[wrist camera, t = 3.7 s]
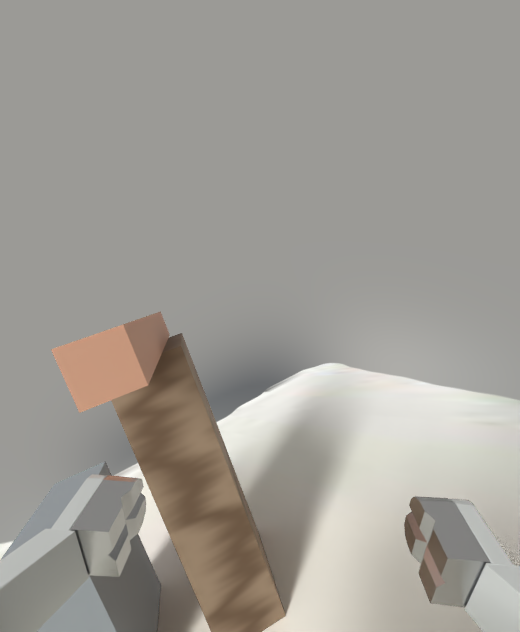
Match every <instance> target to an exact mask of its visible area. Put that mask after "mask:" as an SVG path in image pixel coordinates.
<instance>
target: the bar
mask: <svg viewBox="0 0 520 632" xmlns="http://www.w3.org/2000/svg"><path fill="white" fill-rule="evenodd" d="M168 338H169V332H168V330H167V327H166V324H165V322H164V320H163V317H162V314H161V312H158V313H155V314H152V315H149V316H146V317H143V318H141V319H138V320H135V321H132V322H129V323H126V324H123V325H120V326H118V327H115V328H112V329H109V330H106V331H103V332H100V333H97V334H94V335H92V336H89V337H86V338H83V339H80V340H77V341H74V342H71V343H69V344H65V345H63V346H60V347H57V348H54V349H52V353H53V355H54V357H55V359H56V361H57V364H58V366H59V368H60V370H61V373H62V375H63V377H64V379H65V381H66V384H67V386H68V388H69V390H70V393H71V395H72V397H73V399H74V401H75V404H76V406H77V408H78V410H79V412H83V411H85V410H88V409H90V408H93V407H95V406H98V405H100V404H103V403H105V402H108V401H110V400H113V399H115V398H118V397H120V396H123V395H125V394H128V393H130V392H133V391H135V390H138V389H140V388H143V387H145V386H148V384H149V382H150V380H151V377H152V375H153V373H154V370H155V368H156V366H157V363H158V361H159V359H160V356H161V354H162V352H163V349H164V347H165V345H166V342H167V340H168Z"/></svg>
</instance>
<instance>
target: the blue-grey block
mask: <svg viewBox="0 0 520 632" xmlns="http://www.w3.org/2000/svg"><path fill="white" fill-rule="evenodd" d="M92 474H97V475H109V476H112V475H111V473H110V471H109V468H108V466H107V464H106V462H103V463H101V464H98V465H96V466H94V467H92V468H89V469H87V470H85V471H83V472H80V473H78V474H76V475H74V476H71V477H69V478H67V479H65V480H62V481H60V482H58V483H56V484H54V486H53V487H52V488H51V490H50V491H49V493H48V494H47V496H46V497H45V498H44V500H43V501H42V502H41V504H40V505H39V507H38V508H37V510H36V511H35V512H34V514H33V515H32V517H31V518H30V519H29V521H28V522H27V524H26V525H25V526H24V528H23V529H22V531H21V532H20V533H19V535H18V536H17V538H16V539H15V540H14V542H13V543H12V545H11V546H10V547H9V549H8V550H7V552H6V553H5V554H4V556H3V557H2V559H3V558H4V557H6V556H7V555H9V554H10V553H11V552H13V551H14V550H16V549H17V548H18V547H20V546H21V545H23V544H24V543H26V542H27V541H28V540H30V539H31V538H33V537H34V536H36V535H37V534H38V533H40V532H41V531H43V530H44V529H51V528H52V526H53V525H54V523H55V522H56V521H57V519H58V518H59V516H60V515H61V514H62V512H63V511H64V509H65V508H66V507H67V505H68V504H69V502H70V501H71V500H72V498H73V497H74V495H75V494H76V493H77V491H78V490H79V489H80V487H81V486H82V484H83V483H84V482H85V480H86V479H87V478H88V477H89V476H91V475H92ZM130 545H131V551H130V554H129V556H128V558H127V561H126V563H125V565H124V568H123V570H122V572H121V574H120V577H112V576H93V575H88V576H89V578H88V579H87V580H86V581H85V582H84V583H83V584H82V585H81V586H80V587H79V588H78V589H77V590H76V591H75V592H74V593H73V594H72V596H71V597H70V598H69V599H68V600H67V601H66V602H65V603H64V604H63V605H62V606H61V607H60V608H59V609H58V610H57V611H56V612H55V613H54V614H53V615H52V616H51V617H50V618H49V619H48V620H47V621H46V622H45V623H44V624H43V626H42V627H41V628H40V629H39V630H38V631H37V632H157V626H158V614H159V601H160V588H161V584H160V582H159V580H158V578H157V575H156V573H155V571H154V569H153V566H152V564H151V562H150V560H149V557H148V555H147V553H146V551H145V549H144V546H143V544H142V542H141V540H140V537H139V535H138V534H137V535H136V536H134V537H133V538H132V539H131V540H130Z"/></svg>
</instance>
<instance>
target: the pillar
mask: <svg viewBox="0 0 520 632" xmlns="http://www.w3.org/2000/svg"><path fill="white" fill-rule="evenodd" d="M111 401H112V403H113V405H114V408H115V410H116V412H117V415H118V417H119V419H120V422H121V424H122V426H123V428H124V431H125V433H126V435H127V438H128V440H129V442H130V445H131V447H132V449H133V452H134V454H135V456H136V458H137V461H138V463H139V466H140V468H141V470H142V472H143V475H144V477H145V479H146V482H147V484H148V486H149V489H150V491H151V493H152V496H153V498H154V500H155V503H156V505H157V507H158V509H159V512H160V514H161V516H162V519H163V521H164V523H165V526H166V528H167V530H168V533H169V535H170V537H171V540H172V542H173V544H174V547H175V549H176V551H177V553H178V556H179V558H180V560H181V563H182V565H183V567H184V570H185V572H186V574H187V577H188V579H189V581H190V584H191V586H192V588H193V590H194V593H195V595H196V597H197V600H198V602H199V604H200V607H201V609H202V611H203V614H204V616H205V618H206V621H207V623H208V625H209V628H210V630H211V632H261V631H263V630H265V629H266V628H268V627H269V626H271V625H272V624H274V623H275V622H277V621H278V620H280V619H281V618H283V617H284V616H286V615H285V612H284V609H283V606H282V603H281V600H280V597H279V594H278V591H277V588H276V585H275V582H274V579H273V576H272V573H271V570H270V566H269V563H268V560H267V557H266V554H265V551H264V548H263V545H262V542H261V539H260V536H259V533H258V530H257V527H256V525H255V522H254V520H253V517H252V514H251V512H250V509H249V507H248V504H247V501H246V499H245V496H244V494H243V491H242V488H241V486H240V483H239V481H238V478H237V475H236V473H235V470H234V468H233V465H232V462H231V460H230V457H229V455H228V452H227V449H226V447H225V444H224V442H223V439H222V436H221V434H220V431H219V429H218V426H217V423H216V421H215V418H214V416H213V413H212V410H211V408H210V405H209V403H208V400H207V398H206V395H205V392H204V390H203V387H202V385H201V382H200V380H199V377H198V374H197V372H196V369H195V366H194V364H193V361H192V359H191V356H190V353H189V351H188V348H187V346H186V343H185V340H184V338H183V336H182V333H181V334H178V335H175V336H172V337H170V338H168V340H167V342H166V345H165V347H164V349H163V352H162V354H161V356H160V359H159V361H158V363H157V366H156V368H155V370H154V373H153V375H152V377H151V380H150V382H149V384H148V386H145V387H143V388H140V389H138V390H135V391H133V392H130V393H128V394H125V395H123V396H120V397H118V398H115V399H113V400H111Z"/></svg>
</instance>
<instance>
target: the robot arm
mask: <svg viewBox="0 0 520 632" xmlns="http://www.w3.org/2000/svg"><path fill="white" fill-rule="evenodd" d="M143 487H144V486H143V482H142V479H140V478H129V477H119V476H109V475H97V474H92V475H91V476H89V477H88V478H87V479H86V480H85V482H84V483H83V484H82V486H81V487H80V489H79V490H78V491H77V493H76V494H75V495H74V497H73V498H72V500H71V501H70V502H69V504H68V505H67V507H66V508H65V509H64V511H63V512H62V514H61V515H60V516H59V518H58V519H57V521H56V522H55V523H54V525H53V526H52V528H51V529H44V530H43V531H41V532H40V533H38V534H37V535H36V536H34V537H33V538H31V539H30V540H28V541H27V542H26V543H24V544H23V545H21V546H20V547H18V548H17V549H16V550H14V551H13V552H11V553H10V554H9V555H7V556H6V557H4V558H3V559H1V560H0V632H37V631H38V630H39V629H40V628H41V627H42V626H43V624H44V623H45V622H46V621H47V620H48V619H49V618H50V617H51V616H52V615H53V614H54V613H55V612H56V611H57V610H58V609H59V608H60V607H61V606H62V605H63V604H64V603H65V602H66V601H67V600H68V599H69V598H70V597H71V596H72V594H73V593H74V592H75V591H76V590H77V589H78V588H79V587H80V586H81V585H82V584H83V583H84V582H85V581H86V580H87V579H88V578H89V576H88V575H93V576H112V577H120V574H121V572H122V570H123V568H124V565H125V563H126V561H127V558H128V556H129V554H130V551H131V545H130V540H131V539H132V538H133V537H134V536H136V535H137V534H138V533H139V531H140V528H141V526H142V523H143V520H144V516H145V512H146V498H145V496H144V495H143V494H142V493H141V491H142V489H143ZM409 506H410V508H411V510H412V512H411V513H409V514H408V515H407V516H406V519H405V524H404V526H405V536H406V540H407V544H408V547H409V549H410V552H411V554H412V555H413V556H414V558H415V559H416V560H417V561H418V562H419V563H420V569H419V575H420V578H421V581H422V583H423V586H424V588H425V591H426V593H427V596H428V598H429V601H430V603H431V604H439V605H448V606H456V607H465V611H466V612H467V613H468V614H469V616H470V617H471V618H472V619H473V620H474V621H475V623H476V624H477V625H478V626H479V627H480V629H481V630H482V631H483V632H520V566H518V565H514V564H513V563H512V561H511V560H510V558H509V557H508V555H507V554H506V552H505V551H504V549H503V548H502V546H501V545H500V543H499V542H498V540H497V539H496V537H495V536H494V534H493V533H492V532H491V530H490V529H489V527H488V526H487V524H486V523H485V521H484V520H483V518H482V517H481V515H480V514H479V512H478V511H477V509H476V508H475V506H474V505H473V504H472V503H471V502H470V501H469V500H459V499H448V498H432V497H413V498H412V499H411V501H410V505H409Z"/></svg>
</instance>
